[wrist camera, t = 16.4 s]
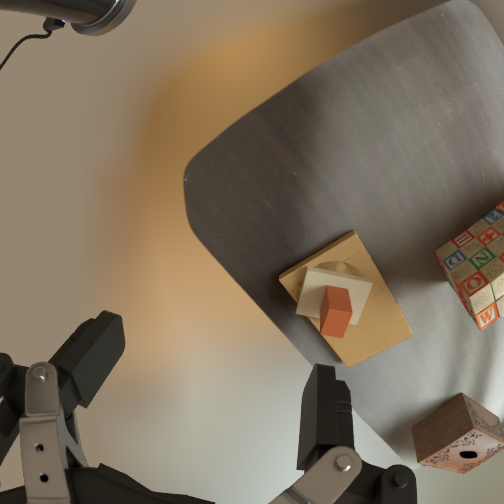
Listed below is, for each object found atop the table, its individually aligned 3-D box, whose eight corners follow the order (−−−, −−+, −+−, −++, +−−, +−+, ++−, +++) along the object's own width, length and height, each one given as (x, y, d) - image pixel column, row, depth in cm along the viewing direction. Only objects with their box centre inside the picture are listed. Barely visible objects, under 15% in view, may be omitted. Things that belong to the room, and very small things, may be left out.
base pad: (278, 274, 42) (277, 280, 41) (353, 229, 38) (355, 233, 36) (346, 362, 47) (346, 368, 45) (410, 329, 42) (412, 335, 41)
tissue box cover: (498, 417, 49) (508, 445, 40) (457, 446, 55) (464, 473, 46) (461, 392, 46) (474, 428, 37) (411, 427, 53) (417, 462, 44)
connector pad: (296, 304, 43) (293, 339, 36) (307, 261, 40) (306, 293, 33) (354, 314, 43) (360, 350, 35) (369, 274, 40) (380, 306, 32)
